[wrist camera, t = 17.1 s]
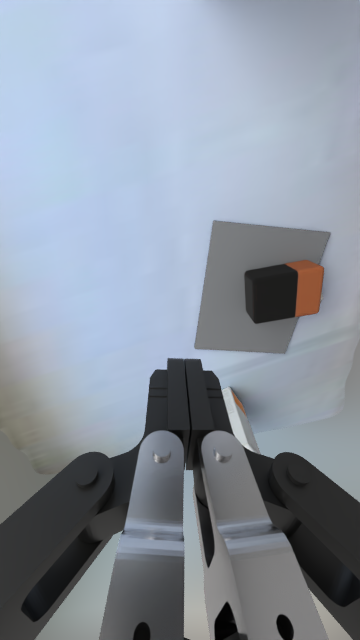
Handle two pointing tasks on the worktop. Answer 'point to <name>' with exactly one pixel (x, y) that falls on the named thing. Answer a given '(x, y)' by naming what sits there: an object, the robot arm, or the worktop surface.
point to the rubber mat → (229, 285)
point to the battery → (283, 291)
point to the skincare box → (239, 420)
